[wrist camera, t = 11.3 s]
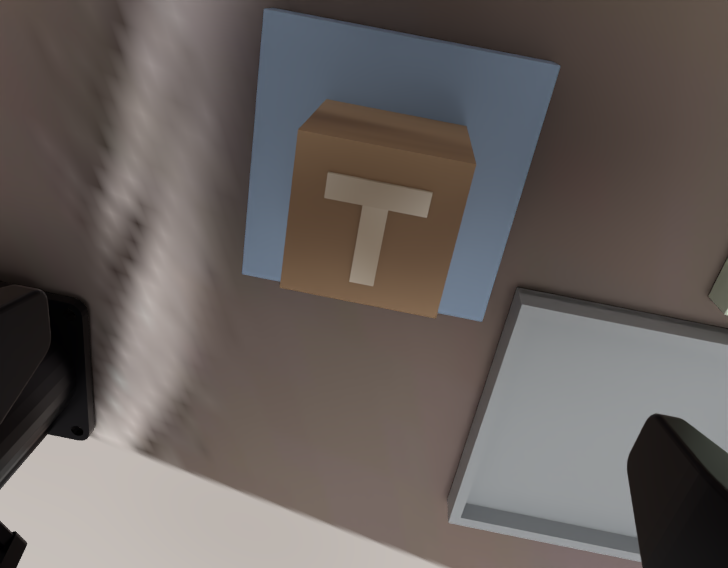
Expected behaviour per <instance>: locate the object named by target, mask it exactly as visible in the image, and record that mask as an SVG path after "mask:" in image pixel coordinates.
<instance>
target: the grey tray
mask: <svg viewBox="0 0 728 568" xmlns="http://www.w3.org/2000/svg"><path fill="white" fill-rule="evenodd" d="M655 413H658V414H663V415H668V416H673V417H678V418H681V419H683V420H685V421H686V422H688V423H689V424H690V425H692V426H693V427H694V428H696V429H697V430H698V431H700V432H701V433H702V434H704V435H705V436H706V437H707V438H709V439H710V440H711V441H713V442H714V443H715V444H717V445H718V446H719V447H721V448H722V449H723V450H725V451H726V452H727V453H728V329H726V328H721V327H716V326H711V325H706V324H701V323H696V322H691V321H685V320H680V319H675V318H670V317H665V316H660V315H655V314H650V313H645V312H640V311H635V310H630V309H625V308H620V307H615V306H610V305H605V304H600V303H594V302H589V301H584V300H579V299H574V298H569V297H564V296H559V295H554V294H549V293H544V292H539V291H534V290H529V289H524V288H519V287H517V289H516V292H515V295H514V298H513V301H512V304H511V307H510V310H509V313H508V316H507V319H506V322H505V326H504V329H503V332H502V335H501V338H500V341H499V344H498V347H497V350H496V353H495V356H494V359H493V362H492V365H491V368H490V371H489V374H488V377H487V380H486V383H485V386H484V389H483V392H482V396H481V399H480V402H479V405H478V408H477V411H476V414H475V417H474V420H473V423H472V426H471V429H470V432H469V435H468V438H467V441H466V444H465V447H464V450H463V453H462V456H461V459H460V463H459V466H458V469H457V472H456V475H455V478H454V481H453V484H452V487H451V490H450V493H449V496H448V499H447V501H448V523H452V524H456V525H461V526H466V527H471V528H476V529H481V530H486V531H491V532H496V533H501V534H506V535H511V536H515V537H520V538H525V539H530V540H535V541H540V542H545V543H550V544H555V545H560V546H565V547H570V548H574V549H579V550H584V551H589V552H594V553H599V554H604V555H609V556H614V557H619V558H624V559H629V560H633V561H638V562H641V557H640V551H639V545H638V538H637V532H636V526H635V519H634V513H633V507H632V500H631V494H630V488H629V481H628V475H627V460H628V456H629V453H630V451H631V449H632V447H633V445H634V443H635V441H636V439H637V437H638V435H639V433H640V431H641V429H642V427H643V425H644V423H645V421H646V420H647V418H648V417H649V416H650V415H653V414H655Z"/></svg>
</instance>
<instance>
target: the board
mask: <svg viewBox="0 0 728 568" xmlns="http://www.w3.org/2000/svg"><path fill="white" fill-rule="evenodd" d="M559 69H560V65H558V64H556V63H555V62H553V61H547V60H542V59H537V58H532V57H527V56H521V55H516V54H511V53H506V52H501V51H495V50H490V49H485V48H480V47H475V46H469V45H464V44H459V43H454V42H449V41H444V40H438V39H433V38H428V37H423V36H418V35H412V34H407V33H402V32H397V31H392V30H386V29H381V28H376V27H371V26H366V25H360V24H355V23H350V22H345V21H340V20H335V19H329V18H324V17H319V16H314V15H309V14H303V13H298V12H293V11H288V10H283V9H277V8H266V9H264V12H263V24H262V36H261V48H260V61H259V73H258V85H257V97H256V109H255V121H254V133H253V146H252V158H251V170H250V182H249V194H248V206H247V218H246V231H245V243H244V255H243V267H242V274H244V275H249V276H254V277H259V278H264V279H269V280H274V281H279V282H280V280H281V272H282V263H283V254H284V246H285V237H286V228H287V220H288V211H289V202H290V194H291V185H292V176H293V168H294V159H295V150H296V142H297V133H298V129H299V128H300V127H301V126H302V125H303V124H304V123H305V122H306V120H307V119H308V118H309V117H310V116H311V115H312V114H313V113H314V112H315V111H316V110H317V109H318V108H319V106H320V105H321V104H322V103H323V102H324V101H325V100H326V99H329V100H334V101H339V102H345V103H350V104H355V105H360V106H365V107H370V108H376V109H381V110H386V111H391V112H396V113H401V114H407V115H412V116H417V117H422V118H427V119H433V120H438V121H443V122H448V123H453V124H458V125H464V126H467V130H468V133H469V137H470V141H471V145H472V149H473V153H474V157H475V161H476V168H475V172H474V175H473V179H472V183H471V187H470V191H469V195H468V198H467V202H466V206H465V210H464V214H463V217H462V221H461V225H460V229H459V233H458V236H457V240H456V244H455V248H454V252H453V256H452V259H451V263H450V267H449V271H448V275H447V278H446V282H445V286H444V290H443V294H442V298H441V301H440V305H439V309H438V313H440V314H445V315H450V316H455V317H460V318H465V319H470V320H475V321H481V322H482V320H483V317H484V314H485V311H486V307H487V304H488V301H489V298H490V294H491V291H492V288H493V285H494V281H495V278H496V275H497V272H498V268H499V265H500V262H501V259H502V255H503V252H504V249H505V245H506V242H507V239H508V236H509V232H510V229H511V226H512V223H513V219H514V216H515V213H516V210H517V206H518V203H519V200H520V197H521V193H522V190H523V187H524V184H525V180H526V177H527V174H528V170H529V167H530V164H531V161H532V157H533V154H534V151H535V148H536V144H537V141H538V138H539V135H540V131H541V128H542V125H543V122H544V118H545V115H546V112H547V109H548V105H549V102H550V99H551V96H552V92H553V89H554V86H555V82H556V79H557V76H558V73H559Z"/></svg>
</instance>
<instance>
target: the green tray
mask: <svg viewBox="0 0 728 568" xmlns="http://www.w3.org/2000/svg"><path fill="white" fill-rule="evenodd" d="M708 297H709V298H710V299H711V300H712V301H713V302H714V303H715V304H716V306H717V307H718V308H719V309H720V310H721V311H722V312H723V313H724V315H728V258H727V260H726V262H725V264H724V266H723V268H722V270H721V272H720V274H719V276H718V278H717V280H716V282H715V284H714V286H713V288H712V290H711V292H710V294H709V296H708Z"/></svg>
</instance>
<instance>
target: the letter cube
mask: <svg viewBox="0 0 728 568" xmlns="http://www.w3.org/2000/svg"><path fill="white" fill-rule="evenodd" d="M475 168H476V161H475V157H474V153H473V149H472V145H471V141H470V137H469V133H468V130H467V126H464V125H458V124H453V123H448V122H443V121H438V120H433V119H427V118H422V117H417V116H412V115H407V114H401V113H396V112H391V111H386V110H381V109H376V108H370V107H365V106H360V105H355V104H350V103H345V102H339V101H334V100H329V99H326V100H325V101H324V102H323V103H322V104H321V105H320V106H319V108H318V109H317V110H316V111H315V112H314V113H313V114H312V115H311V116H310V117H309V118H308V119H307V120H306V122H305V123H304V124H303V125H302V126H301V127H300V128H299V129H298V133H297V142H296V150H295V159H294V168H293V176H292V185H291V194H290V202H289V211H288V220H287V228H286V237H285V246H284V254H283V263H282V272H281V280H280V288H284V289H289V290H294V291H299V292H304V293H309V294H314V295H319V296H324V297H329V298H334V299H339V300H344V301H349V302H354V303H360V304H365V305H370V306H375V307H380V308H385V309H390V310H395V311H400V312H405V313H410V314H415V315H420V316H425V317H430V318H435V319H436V317H437V313H438V309H439V305H440V301H441V298H442V294H443V290H444V286H445V282H446V278H447V275H448V271H449V267H450V263H451V259H452V256H453V252H454V248H455V244H456V240H457V236H458V233H459V229H460V225H461V221H462V217H463V214H464V210H465V206H466V202H467V198H468V195H469V191H470V187H471V183H472V179H473V175H474V172H475Z"/></svg>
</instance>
